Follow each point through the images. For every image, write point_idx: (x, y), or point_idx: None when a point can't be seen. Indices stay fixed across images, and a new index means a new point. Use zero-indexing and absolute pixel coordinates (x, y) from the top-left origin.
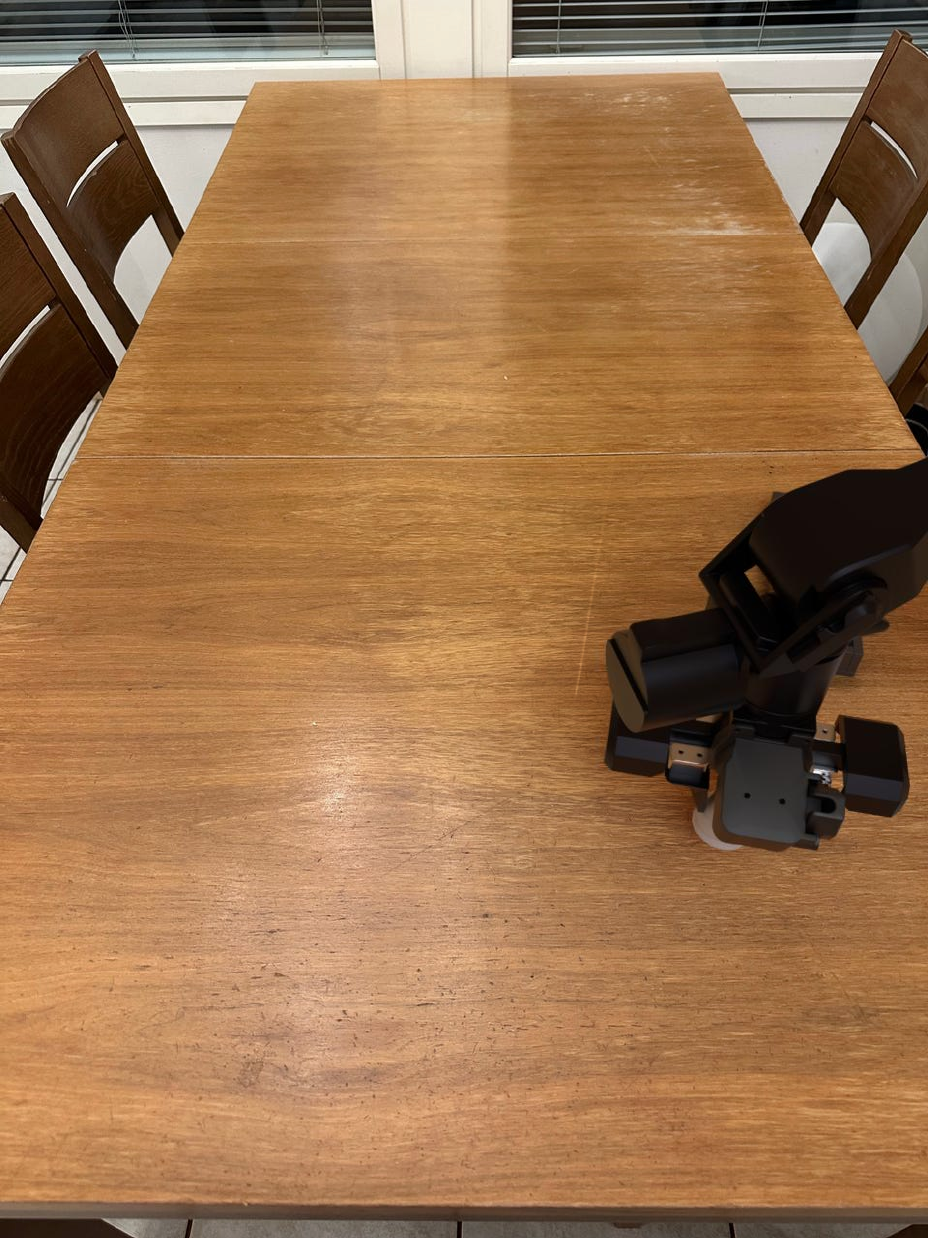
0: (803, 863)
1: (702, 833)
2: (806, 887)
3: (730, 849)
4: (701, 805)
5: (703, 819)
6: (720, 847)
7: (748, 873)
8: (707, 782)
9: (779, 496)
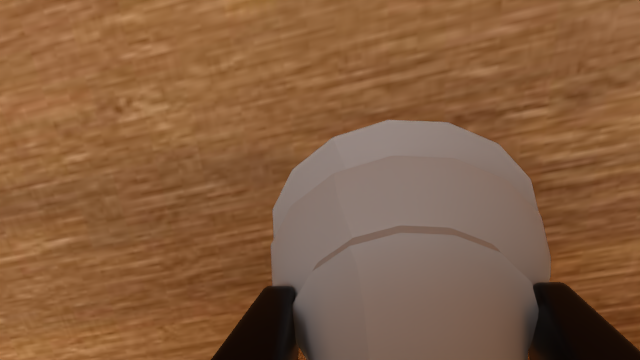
0: (105, 136)
1: (503, 176)
2: (74, 61)
3: (365, 129)
4: (602, 351)
5: (530, 251)
6: (415, 129)
7: (264, 65)
8: None
9: None
